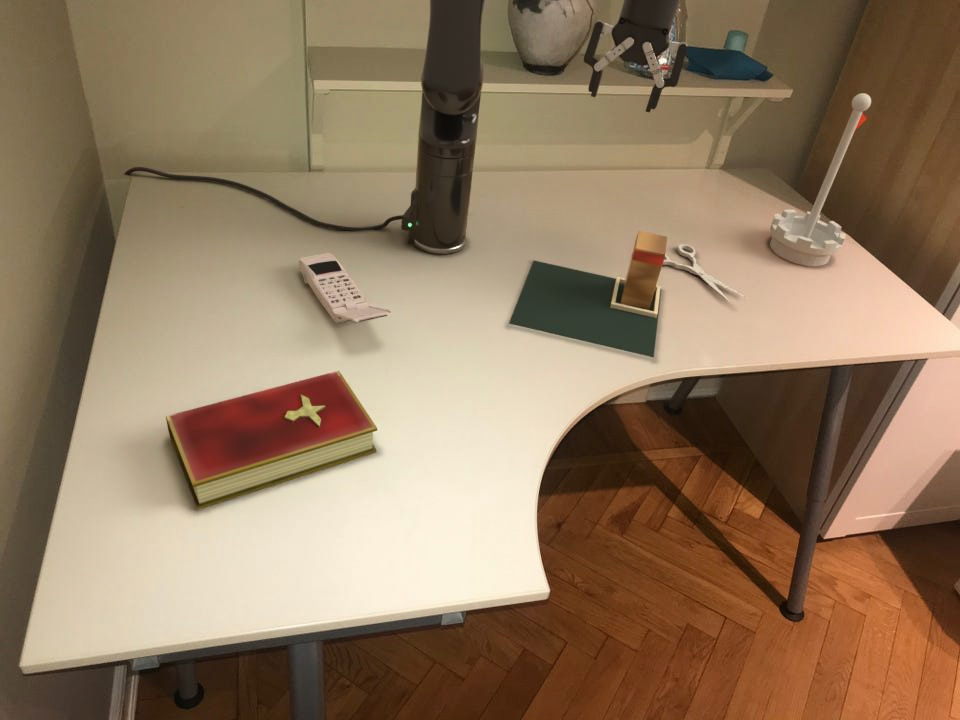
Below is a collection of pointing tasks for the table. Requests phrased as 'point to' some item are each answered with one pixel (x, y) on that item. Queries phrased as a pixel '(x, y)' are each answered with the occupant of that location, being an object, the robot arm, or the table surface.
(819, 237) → the flag stand
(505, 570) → the table surface
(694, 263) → the scissors
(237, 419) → the hardcover book
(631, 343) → the mat
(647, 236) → the box
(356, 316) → the mobile phone
